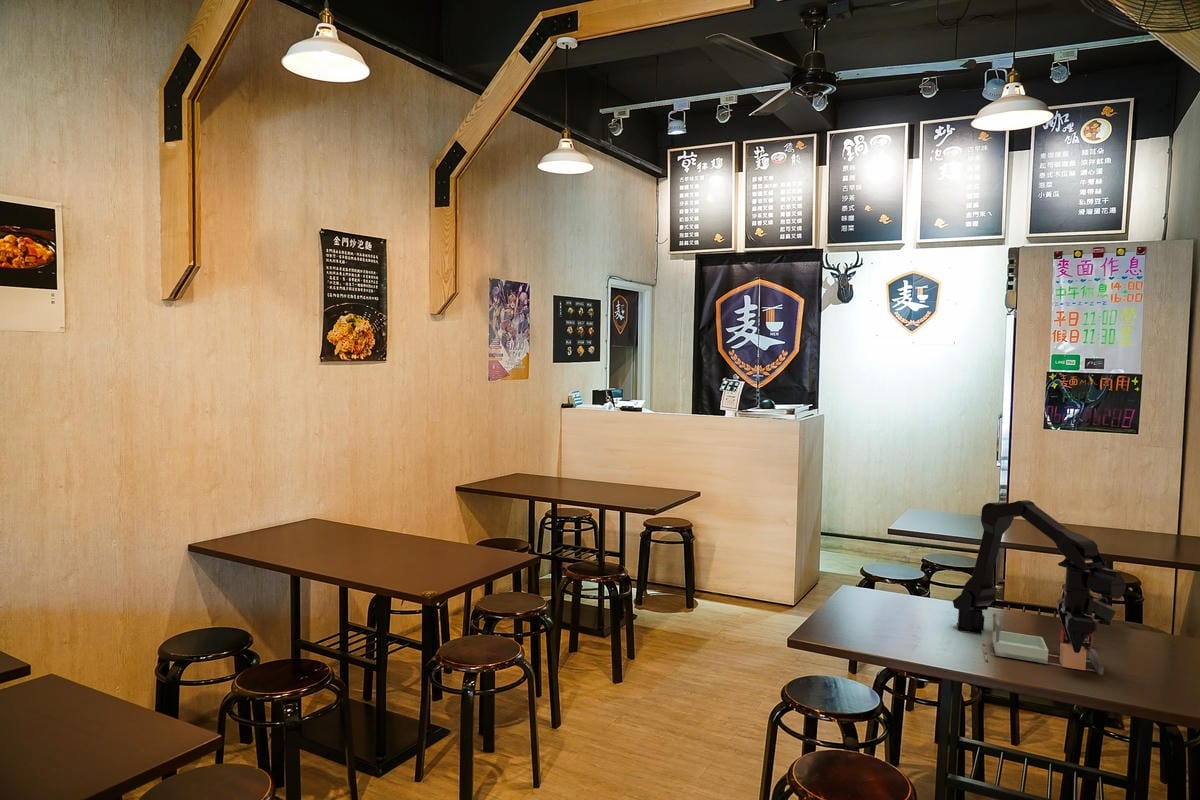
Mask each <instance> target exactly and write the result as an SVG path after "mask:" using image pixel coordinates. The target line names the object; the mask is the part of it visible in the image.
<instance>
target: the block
mask: <svg viewBox="0 0 1200 800" xmlns="http://www.w3.org/2000/svg"><path fill="white" fill-rule="evenodd" d="M1059 645H1060V647H1059V656H1060V657H1059V663H1060V665H1062V666H1061V667H1062V668H1068V669H1074V670H1079V671H1081V670H1082V671H1087V670H1086V669H1087V668H1086V667H1087V666H1086V665H1087V664H1086V663H1087V662H1086V660H1087V650H1085V649H1084V648H1083V647H1081V650H1080V652H1079V653H1075V652H1074V650H1073V647H1072V645H1069V644H1063V643H1061V642H1060V644H1059Z"/></svg>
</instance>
